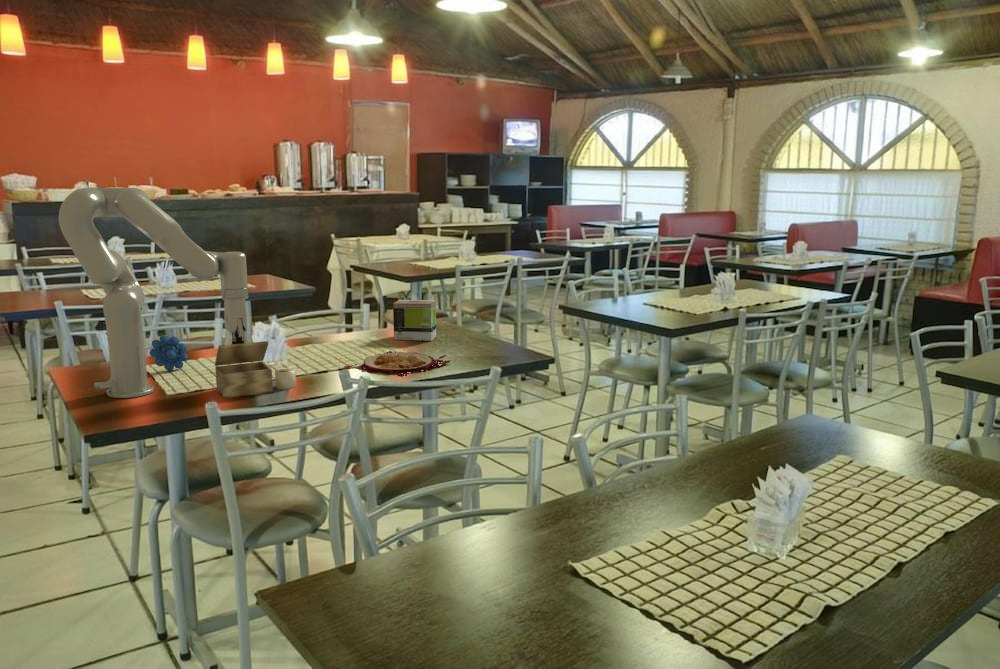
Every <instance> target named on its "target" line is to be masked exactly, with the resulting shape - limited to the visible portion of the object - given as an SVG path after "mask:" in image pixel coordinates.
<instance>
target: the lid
mask: <svg viewBox="0 0 1000 669" xmlns="http://www.w3.org/2000/svg"><path fill="white" fill-rule="evenodd" d="M268 347H269V340H265V341H257V342H256V341H255V342H254V341H253V342H244V343H242V344H232V343H231V344H223V345H218V348H217V353H216V357H215V361H214V366H215V367H216V366H226V365H235V364H245V363H254V362H264V360H265V356H266V353H267V349H268Z"/></svg>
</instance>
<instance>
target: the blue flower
mask: <svg viewBox="0 0 1000 669" xmlns="http://www.w3.org/2000/svg"><path fill="white" fill-rule="evenodd" d="M151 346H152V347H153V348H151V349H150V351H149V354H150V356H151V357H152V358H154V364H155V365H156V366H157V367H164V369H165V370H167V371H169V372H170V371H172V370H174V368H176V369H178V370H179V369H182V368H183V367H184V362H186V361H188V360H189V356H188V354H187V353H186V352H187V349H188V347H187V345H186V344H185V343H182V342H181V343H180V339H179V338H178V337H177V336H175V335H174V336H171V337H169V336H168V335H167V334H162V335H160V336H159V340H158V339H153V340H152V341H151Z"/></svg>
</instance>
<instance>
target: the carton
mask: <svg viewBox="0 0 1000 669" xmlns="http://www.w3.org/2000/svg"><path fill="white" fill-rule="evenodd" d="M214 368H215V382H216V383H215V384H216V390H217V392H219V394H220V395H221V397H222V398H223V399H228V398H229V399H230V398H239V397H245V396H254V395H262V394H270V393H274V391H273V390H274V387H273V369H272V368H271V367H270V366H269V365H268V364H266V363H265V362H264V361H257V362H247V363H238V364H228V365H218V366H215V367H214Z"/></svg>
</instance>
